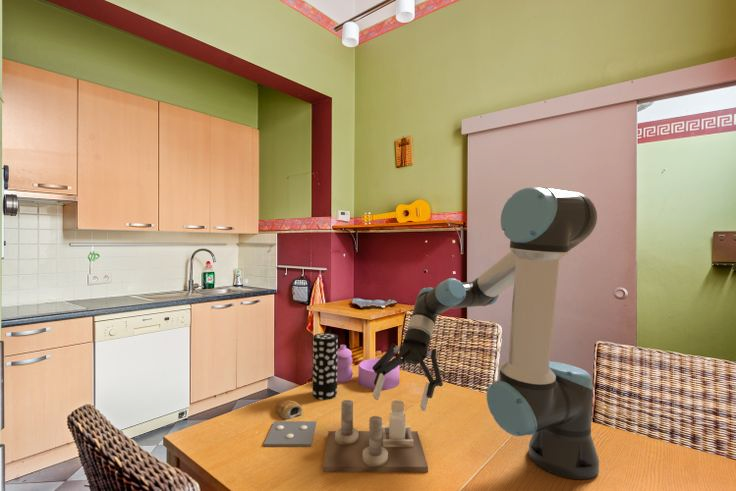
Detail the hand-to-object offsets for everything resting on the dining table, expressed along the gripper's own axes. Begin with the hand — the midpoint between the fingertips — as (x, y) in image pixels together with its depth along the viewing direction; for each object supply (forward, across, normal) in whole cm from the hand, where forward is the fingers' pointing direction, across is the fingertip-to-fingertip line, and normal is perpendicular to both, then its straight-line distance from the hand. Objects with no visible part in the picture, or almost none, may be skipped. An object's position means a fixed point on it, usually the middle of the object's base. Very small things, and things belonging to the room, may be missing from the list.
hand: (397, 403), depth 100 cm
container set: (-16, +27, -30) cm, 44 cm away
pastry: (+9, +36, -6) cm, 37 cm away
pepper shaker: (+7, 0, -5) cm, 9 cm away
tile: (+15, +26, +1) cm, 30 cm away
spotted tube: (-3, +34, -17) cm, 38 cm away
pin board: (+13, +3, -1) cm, 13 cm away
